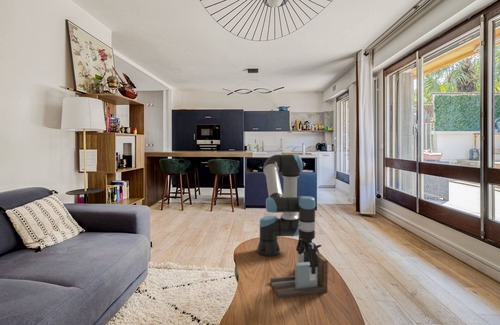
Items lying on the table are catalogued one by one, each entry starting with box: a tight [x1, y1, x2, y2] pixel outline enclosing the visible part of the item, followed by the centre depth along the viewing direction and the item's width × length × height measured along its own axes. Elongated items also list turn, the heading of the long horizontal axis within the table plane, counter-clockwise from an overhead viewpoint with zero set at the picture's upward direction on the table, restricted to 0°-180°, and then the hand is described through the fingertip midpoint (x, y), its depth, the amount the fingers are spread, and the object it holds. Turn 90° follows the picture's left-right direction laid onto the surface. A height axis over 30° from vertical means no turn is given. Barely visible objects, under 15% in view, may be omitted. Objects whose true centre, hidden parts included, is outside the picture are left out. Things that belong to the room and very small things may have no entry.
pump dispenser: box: [302, 242, 322, 262], centre depth 149 cm, size 10×10×15 cm
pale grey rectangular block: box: [294, 262, 317, 289], centre depth 127 cm, size 3×10×12 cm, turn 101°
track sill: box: [269, 251, 329, 298], centre depth 129 cm, size 14×24×15 cm, turn 101°
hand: (306, 273), depth 127 cm, fingers open, 13 cm apart
